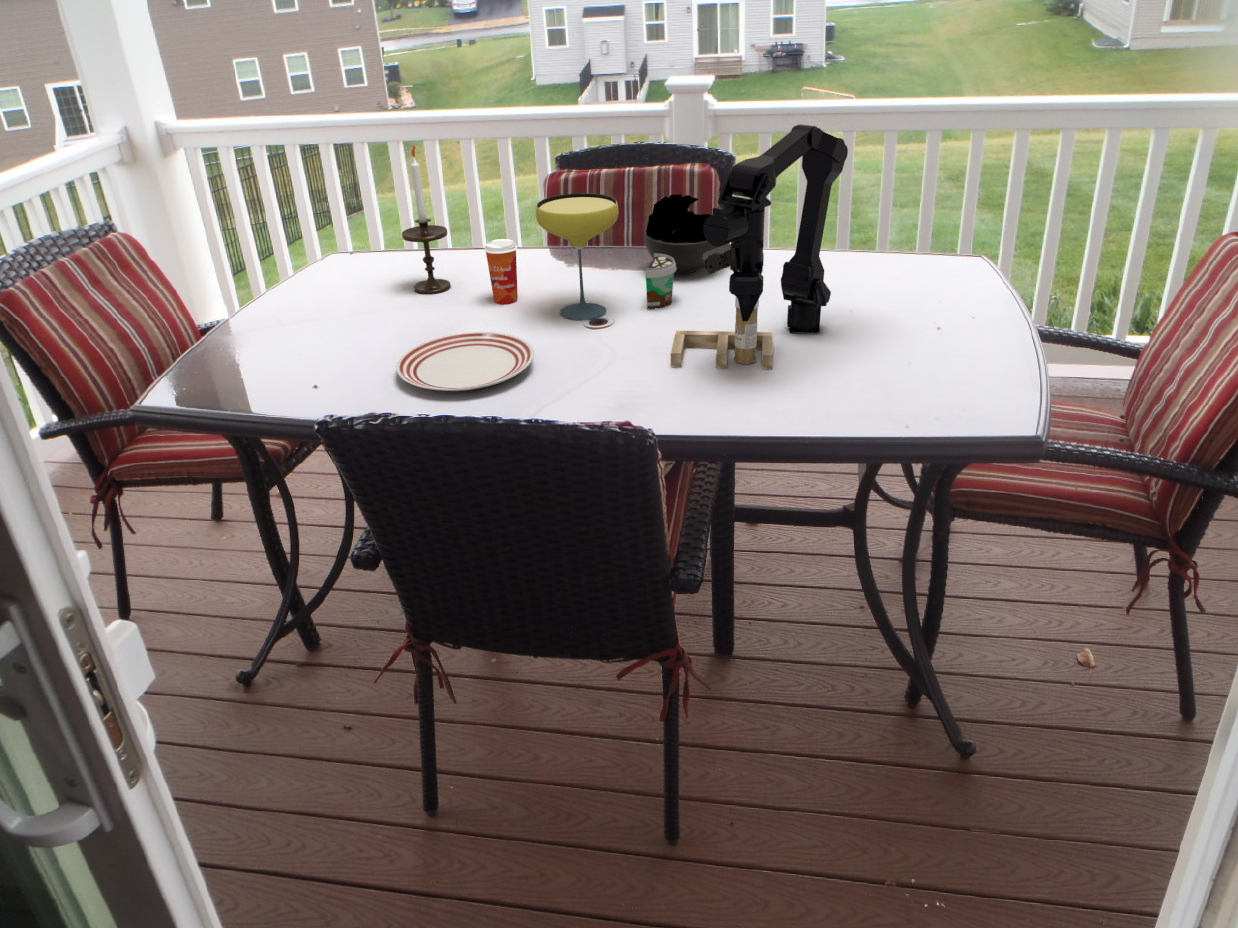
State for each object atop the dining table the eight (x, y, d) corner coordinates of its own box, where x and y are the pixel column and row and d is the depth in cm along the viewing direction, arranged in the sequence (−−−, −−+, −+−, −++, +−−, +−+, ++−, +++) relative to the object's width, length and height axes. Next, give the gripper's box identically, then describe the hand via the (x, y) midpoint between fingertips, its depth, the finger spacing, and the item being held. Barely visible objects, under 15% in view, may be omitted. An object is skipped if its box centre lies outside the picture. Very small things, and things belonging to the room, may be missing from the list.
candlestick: (461, 289, 231) (443, 143, 213) (421, 298, 226) (399, 150, 208) (443, 278, 239) (423, 137, 221) (403, 287, 234) (381, 143, 216)
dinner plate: (476, 413, 171) (474, 397, 169) (369, 384, 184) (366, 368, 182) (561, 360, 191) (560, 345, 189) (459, 337, 204) (458, 323, 202)
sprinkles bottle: (729, 358, 188) (731, 295, 181) (750, 354, 189) (752, 291, 182) (739, 366, 184) (741, 302, 177) (760, 362, 185) (763, 298, 178)
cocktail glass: (548, 299, 222) (539, 194, 210) (623, 297, 221) (619, 191, 209) (540, 327, 206) (530, 215, 194) (621, 325, 206) (616, 213, 193)
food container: (672, 312, 212) (672, 270, 207) (646, 311, 213) (645, 269, 208) (680, 294, 222) (680, 253, 217) (655, 293, 223) (654, 252, 218)
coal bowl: (682, 254, 249) (682, 183, 239) (739, 270, 236) (741, 195, 226) (628, 272, 237) (626, 198, 228) (684, 289, 224) (684, 212, 215)
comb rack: (771, 345, 192) (772, 332, 191) (772, 369, 182) (772, 355, 181) (675, 343, 195) (675, 330, 194) (670, 367, 185) (670, 353, 183)
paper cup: (484, 304, 221) (477, 246, 214) (499, 293, 227) (493, 237, 220) (513, 307, 218) (507, 249, 211) (528, 296, 224) (522, 239, 217)
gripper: (708, 220, 183) (707, 295, 190) (702, 248, 167) (701, 329, 174) (765, 220, 181) (761, 296, 189) (764, 248, 165) (761, 330, 173)
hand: (745, 312), depth 181 cm, fingers open, 9 cm apart
